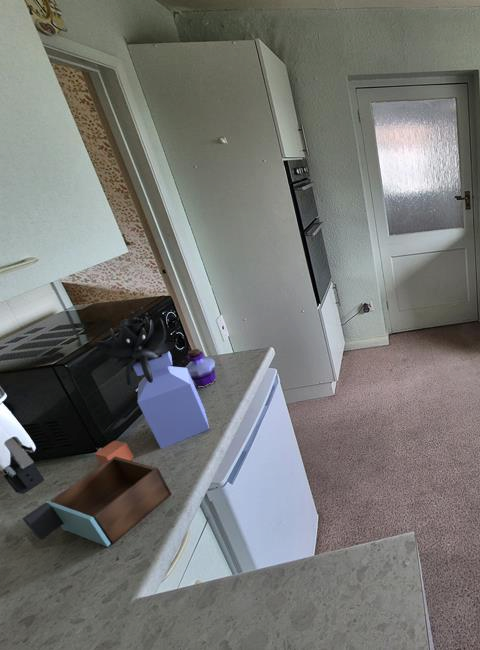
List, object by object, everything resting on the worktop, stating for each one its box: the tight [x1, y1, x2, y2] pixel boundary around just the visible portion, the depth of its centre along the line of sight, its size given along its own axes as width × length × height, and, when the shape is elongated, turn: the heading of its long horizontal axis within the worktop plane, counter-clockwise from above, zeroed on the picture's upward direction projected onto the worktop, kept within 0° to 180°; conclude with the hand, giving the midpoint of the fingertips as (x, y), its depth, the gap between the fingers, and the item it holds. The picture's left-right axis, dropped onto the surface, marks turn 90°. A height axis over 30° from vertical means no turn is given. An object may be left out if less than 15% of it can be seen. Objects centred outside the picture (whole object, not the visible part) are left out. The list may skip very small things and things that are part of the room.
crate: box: [50, 456, 172, 545], centre depth 78 cm, size 12×14×8 cm
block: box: [93, 440, 135, 466], centre depth 92 cm, size 4×4×4 cm
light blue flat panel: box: [22, 500, 112, 547], centre depth 71 cm, size 4×14×8 cm, turn 72°
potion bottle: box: [184, 348, 216, 386], centre depth 121 cm, size 9×9×12 cm
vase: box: [93, 306, 210, 450], centre depth 94 cm, size 14×12×35 cm
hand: (31, 486), depth 66 cm, fingers closed
